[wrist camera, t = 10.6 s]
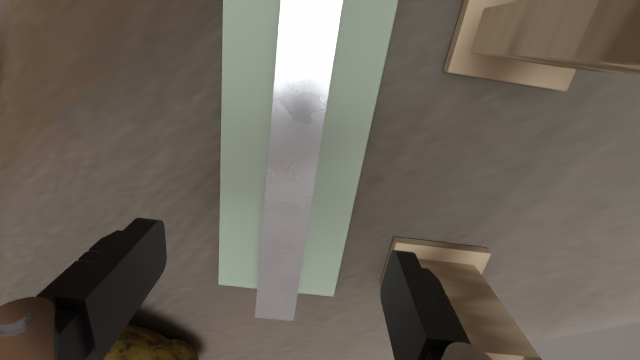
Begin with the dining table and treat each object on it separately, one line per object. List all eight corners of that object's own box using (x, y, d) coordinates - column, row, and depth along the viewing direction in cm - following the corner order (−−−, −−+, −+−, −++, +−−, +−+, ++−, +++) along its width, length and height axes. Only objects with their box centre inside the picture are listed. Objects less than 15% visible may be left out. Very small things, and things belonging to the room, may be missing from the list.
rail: (351, -79, 16) (358, -103, 13) (295, 292, 27) (293, 320, 24) (295, -89, 16) (290, -116, 13) (261, 288, 26) (254, 317, 24)
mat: (409, -63, 17) (412, -66, 16) (333, 291, 27) (333, 296, 27) (227, -97, 16) (224, -102, 16) (220, 279, 27) (218, 284, 26)
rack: (595, 4, 18) (1007, -53, 7) (466, 292, 28) (564, 456, 17) (469, -19, 18) (712, -118, 7) (380, 283, 27) (423, 446, 16)
